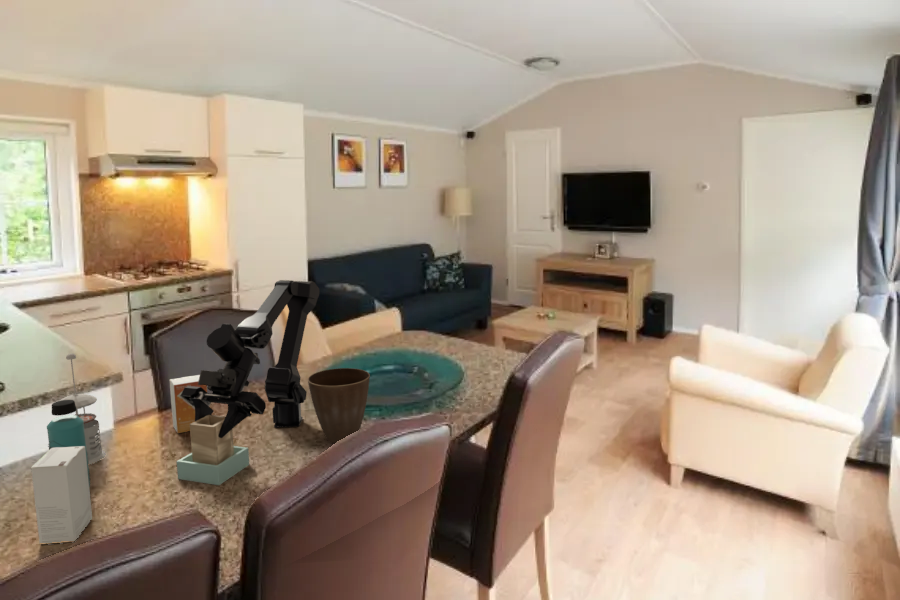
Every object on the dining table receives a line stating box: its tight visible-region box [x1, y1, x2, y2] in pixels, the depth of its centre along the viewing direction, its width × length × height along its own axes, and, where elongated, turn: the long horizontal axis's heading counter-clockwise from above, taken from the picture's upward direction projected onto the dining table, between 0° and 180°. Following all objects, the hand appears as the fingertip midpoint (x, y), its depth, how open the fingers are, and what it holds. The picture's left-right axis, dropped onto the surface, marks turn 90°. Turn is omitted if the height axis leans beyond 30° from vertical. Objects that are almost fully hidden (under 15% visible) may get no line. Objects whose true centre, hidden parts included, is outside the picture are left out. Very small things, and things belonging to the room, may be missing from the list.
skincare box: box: [30, 446, 93, 544], centre depth 108 cm, size 8×6×15 cm
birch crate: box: [189, 414, 235, 465], centre depth 133 cm, size 6×6×10 cm
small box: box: [169, 374, 208, 434], centre depth 159 cm, size 8×6×13 cm
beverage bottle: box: [46, 399, 92, 488], centre depth 121 cm, size 6×7×20 cm
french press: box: [59, 353, 107, 465], centre depth 140 cm, size 10×12×25 cm
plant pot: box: [307, 367, 371, 444], centre depth 150 cm, size 15×15×16 cm
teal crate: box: [176, 445, 250, 486], centre depth 133 cm, size 10×10×4 cm
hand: (207, 435), depth 131 cm, fingers closed on birch crate, 6 cm apart
